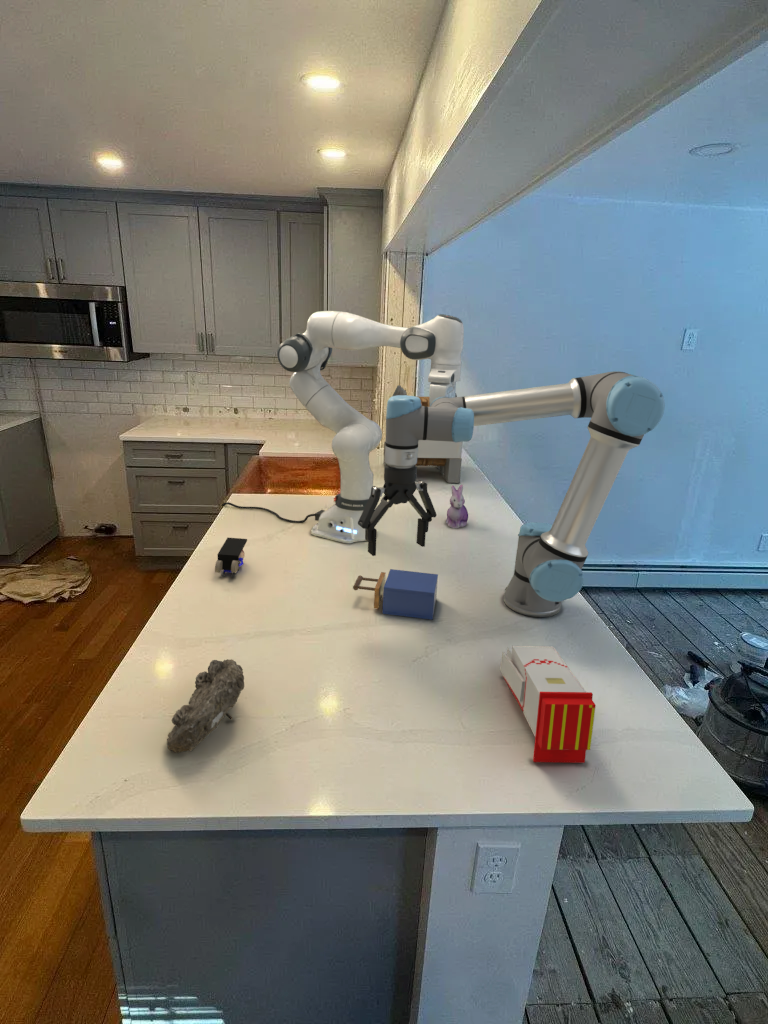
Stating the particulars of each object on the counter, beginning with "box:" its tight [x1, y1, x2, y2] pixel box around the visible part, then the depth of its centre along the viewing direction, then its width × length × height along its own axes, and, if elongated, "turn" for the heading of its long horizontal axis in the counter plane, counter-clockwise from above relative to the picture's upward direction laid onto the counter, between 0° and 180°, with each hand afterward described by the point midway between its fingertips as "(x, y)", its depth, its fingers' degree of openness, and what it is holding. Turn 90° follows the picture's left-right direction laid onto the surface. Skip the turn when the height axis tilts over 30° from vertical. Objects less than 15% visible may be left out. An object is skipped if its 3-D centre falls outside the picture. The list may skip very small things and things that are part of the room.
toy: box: [499, 645, 597, 764], centre depth 112 cm, size 12×13×30 cm
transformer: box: [383, 384, 464, 484], centre depth 268 cm, size 34×33×41 cm
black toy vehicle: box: [214, 537, 248, 578], centre depth 166 cm, size 7×8×15 cm
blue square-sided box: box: [381, 568, 439, 621], centre depth 150 cm, size 13×11×8 cm
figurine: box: [445, 484, 469, 529], centre depth 209 cm, size 9×10×15 cm
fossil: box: [166, 658, 245, 754], centre depth 106 cm, size 22×10×15 cm
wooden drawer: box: [352, 571, 387, 610], centre depth 151 cm, size 18×10×6 cm, turn 80°
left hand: (441, 421), depth 170 cm, fingers open, 8 cm apart
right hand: (396, 549), depth 137 cm, fingers open, 13 cm apart
